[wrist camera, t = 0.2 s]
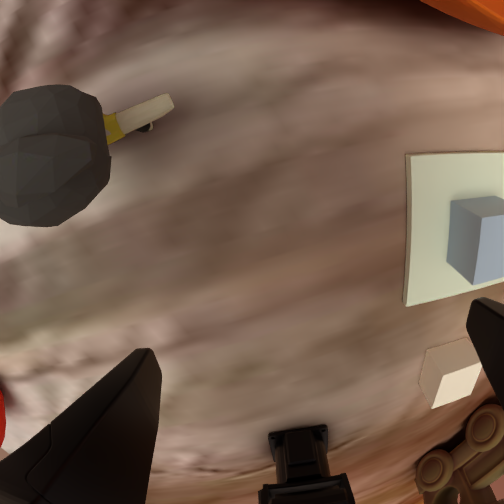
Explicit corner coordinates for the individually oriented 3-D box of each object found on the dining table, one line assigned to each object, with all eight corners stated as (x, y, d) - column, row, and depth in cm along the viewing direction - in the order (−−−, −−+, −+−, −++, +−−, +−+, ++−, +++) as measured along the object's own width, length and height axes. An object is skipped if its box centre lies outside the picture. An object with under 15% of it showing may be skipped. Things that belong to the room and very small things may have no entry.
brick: (455, 370, 29) (470, 394, 25) (417, 382, 29) (431, 408, 26) (465, 336, 27) (484, 360, 23) (426, 348, 27) (442, 375, 24)
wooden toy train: (437, 470, 40) (463, 540, 25) (399, 470, 38) (424, 554, 23) (519, 396, 33) (563, 467, 18) (493, 387, 31) (546, 476, 16)
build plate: (503, 276, 24) (508, 279, 23) (402, 301, 25) (406, 306, 24) (516, 151, 19) (522, 153, 19) (405, 154, 20) (410, 156, 19)
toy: (184, 77, 18) (55, 11, 4) (202, 157, 20) (110, 250, 6) (71, 117, 18) (-110, 154, 5) (89, 188, 21) (-68, 294, 7)
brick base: (489, 252, 22) (517, 272, 18) (446, 261, 22) (472, 285, 19) (495, 195, 20) (527, 211, 16) (450, 200, 20) (481, 217, 17)
